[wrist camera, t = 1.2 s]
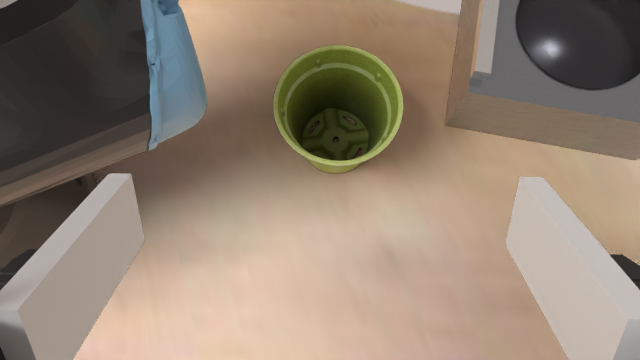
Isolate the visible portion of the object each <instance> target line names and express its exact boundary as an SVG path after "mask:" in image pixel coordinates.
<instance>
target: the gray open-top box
mask: <svg viewBox="0 0 640 360" xmlns="http://www.w3.org/2000/svg"><path fill="white" fill-rule="evenodd" d="M445 126H451V127H456V128H462V129H467V130H473V131H478V132H484V133H489V134H495V135H500V136H506V137H511V138H517V139H522V140H527V141H533V142H538V143H544V144H549V145H555V146H560V147H566V148H571V149H577V150H582V151H588V152H593V153H599V154H604V155H610V156H615V157H621V158H626V159H632V160H636V159H638V158H640V0H462V5H461V12H460V20H459V27H458V34H457V41H456V49H455V56H454V63H453V70H452V77H451V85H450V92H449V99H448V106H447V114H446V121H445Z"/></svg>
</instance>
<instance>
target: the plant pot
mask: <svg viewBox="0 0 640 360" xmlns="http://www.w3.org/2000/svg"><path fill="white" fill-rule="evenodd" d="M273 110H274V117H275V121H276V124H277V127H278V129H279V131H280V133H281V135H282V136H283V138H284V139H285V141H286V142H287V143H288V144H289V145H290V146H291V147H292V148H293V149H294V150H295V151H296V152H298V153H299V154H300V155H302V156H304V157H306V158H307V160H308V161H309V162H310V163H311V164H312V165H313V166H314V167H316V168H317V169H319V170H321V171H324V172H327V173H343V172H347V171H350V170H352V169H354V168H355V167H357V166H358V165H359V164H360V163H362V162H365V161H367V160H369V159H371V158H373V157H375V156H376V155H378V154H379V153H380V152H382V151H383V150H384V149H385V148H386V147H387V146H388V145H389V144H390V142H391V141H392V140H393V138H394V137H395V135H396V133H397V131H398V129H399V127H400V124H401V120H402V116H403V96H402V92H401V88H400V85H399V83H398V81H397V79H396V77H395V75H394V74H393V72H392V71H391V70H390V68H389V67H388V66H387V65H386V64H385V63H384V62H383V61H381V60H380V59H379V58H378V57H376V56H374V55H373V54H371V53H369V52H367V51H364V50H362V49H359V48H355V47H350V46H344V45H331V46H325V47H320V48H317V49H314V50H312V51H309V52H307V53H305V54H303V55H302V56H300V57H298V58H297V59H296V60H295V61H293V62H292V63H291V64H290V65H289V66H288V68H287V69H286V70H285V71H284V73H283V74H282V76H281V78H280V79H279V81H278V84H277V86H276V89H275V93H274V99H273ZM343 117H349V118H351V119H353V120H354V121H355V123H356V125H352V124H351V123H350V122H349V121H347V120H346V119H345V118H343ZM316 121H319V124H318V125H317V126H316V127H315V129H314V130H313V132H312V133H310V132H309V130H310V129H311V127H312V125H313V123H315V122H316ZM334 137H338V141H337V142H334V141H333V138H334ZM359 148H361V149H362V152H361V154H360V155H359V157H358V158H355V159H352V158H353V157H354V156H355V155H356V153H357V152H358V150H359Z"/></svg>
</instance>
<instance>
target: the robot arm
mask: <svg viewBox="0 0 640 360" xmlns="http://www.w3.org/2000/svg"><path fill="white" fill-rule="evenodd" d="M178 2H179V0H0V360H73V358H74V357H75V355H76V353H77V352H78V350H79V348H80V347H81V345H82V344H83V342H84V340H85V339H86V337H87V335H88V334H89V332H90V330H91V329H92V327H93V325H94V324H95V322H96V321H97V319H98V317H99V316H100V314H101V312H102V311H103V309H104V307H105V306H106V304H107V302H108V301H109V299H110V297H111V296H112V294H113V293H114V291H115V289H116V288H117V286H118V284H119V283H120V281H121V279H122V278H123V276H124V274H125V273H126V271H127V270H128V268H129V266H130V265H131V263H132V261H133V260H134V258H135V256H136V255H137V253H138V251H139V250H140V248H141V247H142V245H143V243H144V242H145V238H144V233H143V228H142V223H141V218H140V214H139V209H138V204H137V199H136V194H135V189H134V184H133V180H132V175H131V174H123V173H109V174H108V175H107V176H106V177H105V178H104V179H103V180H102V181H101V183H100V184H99V185H98V186H97V185H96V182H95V179H94V177H93V174H92V172H93V171H96V170H98V169H101V168H103V167H106V166H109V165H111V164H114V163H116V162H119V161H121V160H124V159H126V158H129V157H132V156H134V155H137V154H139V153H142V152H144V151H150V150H152V149H155V148H156V147H157V145H158V144H159V143H161V142H163V141H165V140H167V139H169V138H172V137H174V136H176V135H178V134H180V133H182V132H184V131H186V130H188V129H190V128H192V127H194V126H195V125H196V124H197V123H198V122H199V120H200V119H201V118H202V117H203V115H204V113H205V111H206V107H207V94H206V89H205V85H204V80H203V76H202V72H201V69H200V65H199V62H198V58H197V55H196V51H195V48H194V45H193V42H192V38H191V35H190V32H189V29H188V26H187V23H186V20H185V17H184V14H183V12H182V9H181V8H180V6H179V4H178ZM505 245H506V247H507V249H508V251H509V253H510V254H511V256H512V258H513V260H514V262H515V263H516V265H517V267H518V269H519V271H520V272H521V274H522V276H523V278H524V280H525V282H526V283H527V285H528V287H529V289H530V291H531V292H532V294H533V296H534V298H535V300H536V301H537V303H538V305H539V307H540V309H541V311H542V312H543V314H544V316H545V318H546V320H547V321H548V323H549V325H550V327H551V329H552V330H553V332H554V334H555V336H556V338H557V340H558V341H559V343H560V345H561V347H562V349H563V350H564V352H565V354H566V356H567V358H568V359H569V360H640V266H639V265H637V264H636V263H634V262H633V261H631V260H630V259H628V258H627V257H625V256H623V255H609V254H608V252H607V251H606V250H605V249H604V248H603V247H602V245H601V244H600V243H599V242H598V241H597V240H596V238H595V237H594V236H593V235H592V234H591V233H590V231H589V230H588V229H587V228H586V227H585V226H584V224H583V223H582V222H581V221H580V220H579V219H578V217H577V216H576V215H575V214H574V213H573V212H572V210H571V209H570V208H569V207H568V206H567V205H566V203H565V202H564V201H563V200H562V199H561V198H560V196H559V195H558V194H557V193H556V192H555V191H554V189H553V188H552V187H551V186H550V185H549V184H548V182H547V181H546V180H545V179H544V178H543V177H520V178H519V182H518V187H517V192H516V197H515V201H514V206H513V211H512V215H511V220H510V225H509V229H508V234H507V239H506V243H505Z"/></svg>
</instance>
